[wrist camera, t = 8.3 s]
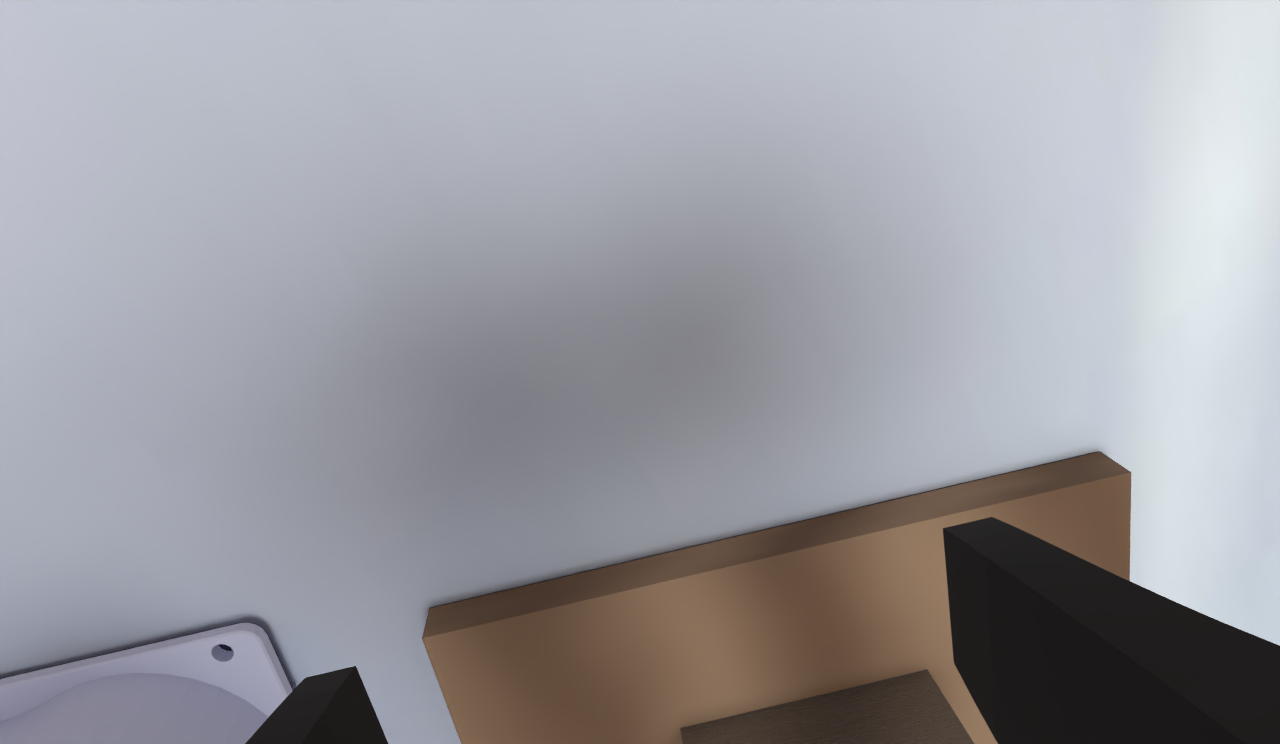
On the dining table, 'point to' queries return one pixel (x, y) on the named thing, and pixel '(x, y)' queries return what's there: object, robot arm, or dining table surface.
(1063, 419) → the dining table surface
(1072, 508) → the board
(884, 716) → the sleeve
